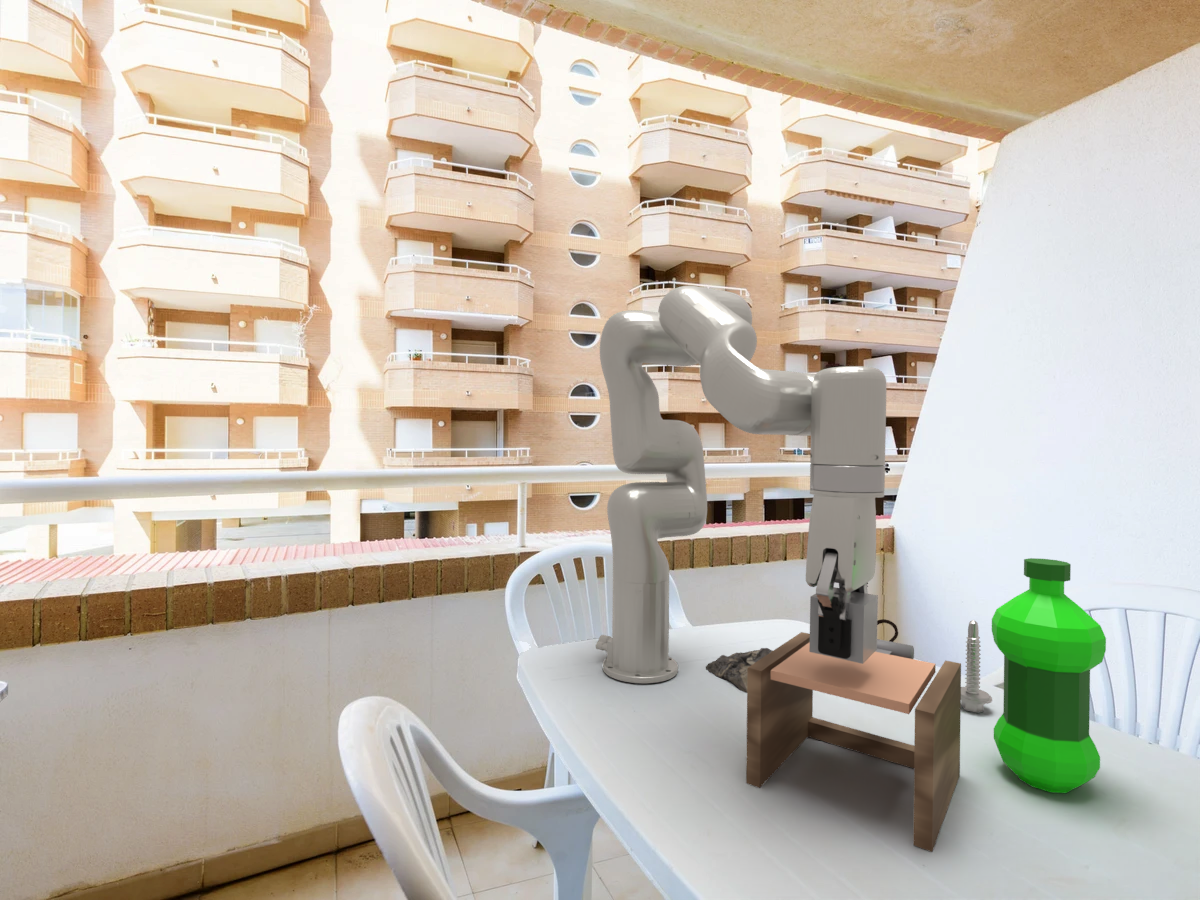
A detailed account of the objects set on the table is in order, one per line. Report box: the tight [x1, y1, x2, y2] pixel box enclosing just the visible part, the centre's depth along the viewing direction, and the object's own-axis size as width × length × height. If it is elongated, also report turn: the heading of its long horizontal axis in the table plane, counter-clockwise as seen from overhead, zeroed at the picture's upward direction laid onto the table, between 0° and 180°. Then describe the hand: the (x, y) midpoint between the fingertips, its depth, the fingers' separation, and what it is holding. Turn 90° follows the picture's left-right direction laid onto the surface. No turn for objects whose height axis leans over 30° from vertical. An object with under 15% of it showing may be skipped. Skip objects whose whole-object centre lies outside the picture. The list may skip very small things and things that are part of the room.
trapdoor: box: [771, 638, 936, 715], centre depth 71 cm, size 14×18×2 cm
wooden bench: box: [745, 631, 962, 853], centre depth 69 cm, size 19×17×13 cm
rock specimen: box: [705, 647, 774, 694], centre depth 103 cm, size 19×4×15 cm
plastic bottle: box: [991, 557, 1107, 794], centre depth 70 cm, size 10×10×25 cm
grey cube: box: [809, 591, 879, 664], centre depth 66 cm, size 6×6×6 cm
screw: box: [961, 619, 993, 714], centre depth 89 cm, size 13×5×5 cm
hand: (843, 645), depth 67 cm, fingers closed on grey cube, 5 cm apart
